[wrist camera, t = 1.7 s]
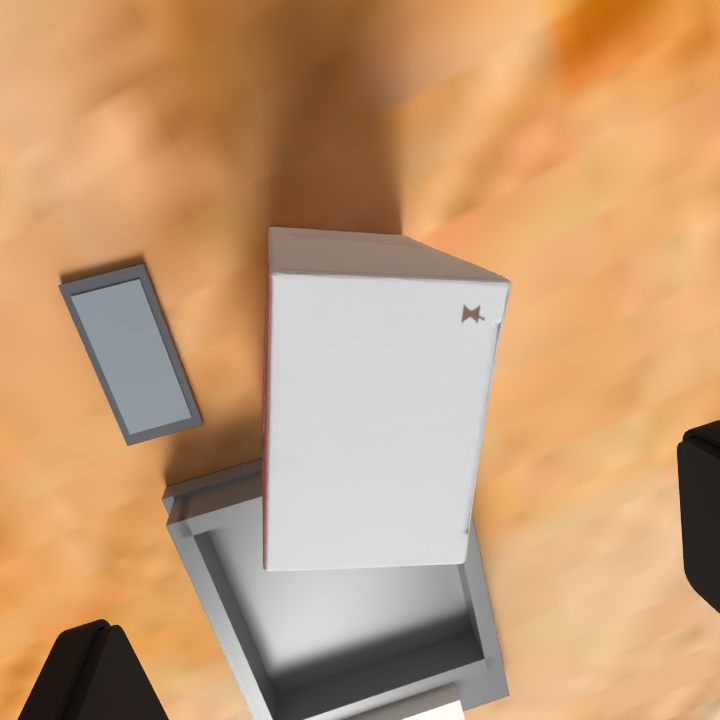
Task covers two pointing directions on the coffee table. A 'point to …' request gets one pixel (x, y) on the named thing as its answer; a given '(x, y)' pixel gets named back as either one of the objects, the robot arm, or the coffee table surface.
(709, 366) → the coffee table surface
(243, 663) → the grey tray
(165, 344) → the phone
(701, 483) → the robot arm
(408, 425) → the small box
